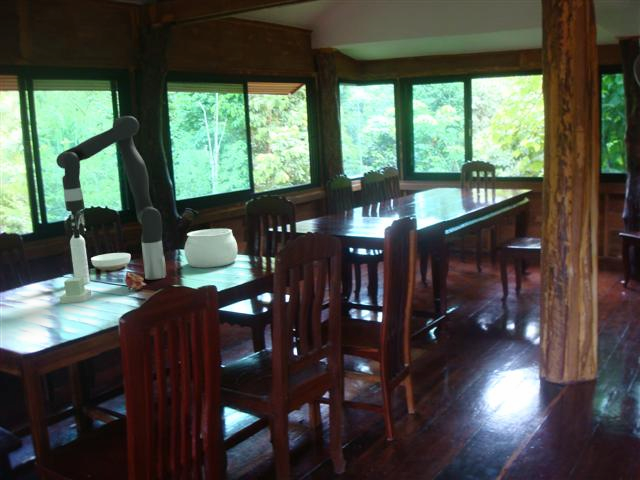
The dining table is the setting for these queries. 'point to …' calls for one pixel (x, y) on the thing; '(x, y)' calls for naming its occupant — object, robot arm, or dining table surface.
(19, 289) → the dining table surface
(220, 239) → the pot
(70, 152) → the robot arm
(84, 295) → the trivet
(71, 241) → the white bottle
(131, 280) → the flower
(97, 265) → the bowl
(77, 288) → the green cube
